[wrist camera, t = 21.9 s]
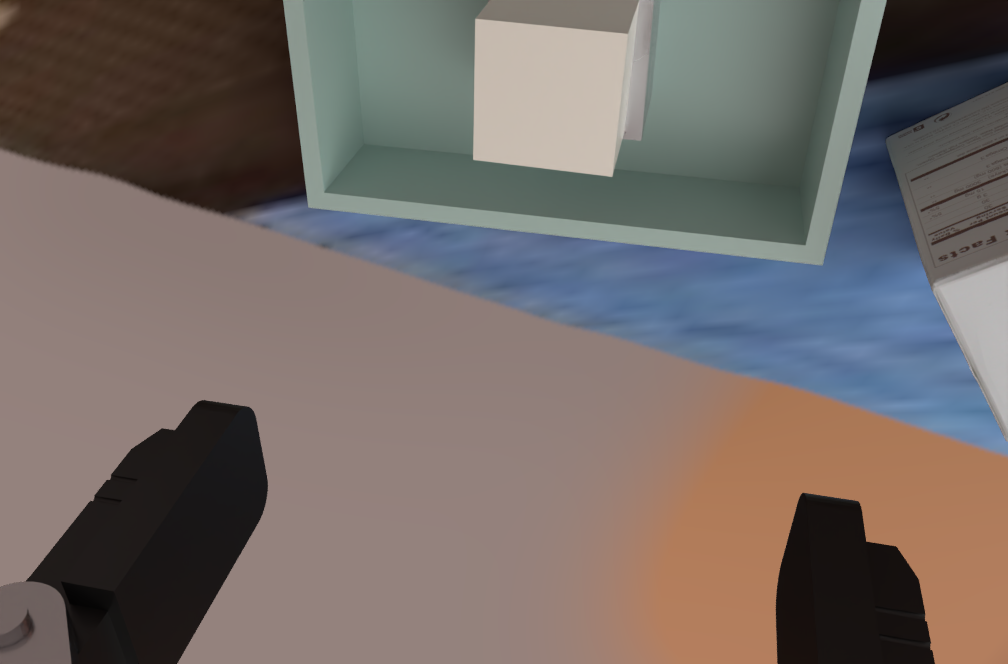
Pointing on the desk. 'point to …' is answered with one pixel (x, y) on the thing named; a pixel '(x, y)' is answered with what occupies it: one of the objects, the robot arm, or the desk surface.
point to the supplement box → (964, 227)
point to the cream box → (553, 82)
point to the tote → (640, 164)
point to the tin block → (642, 69)
